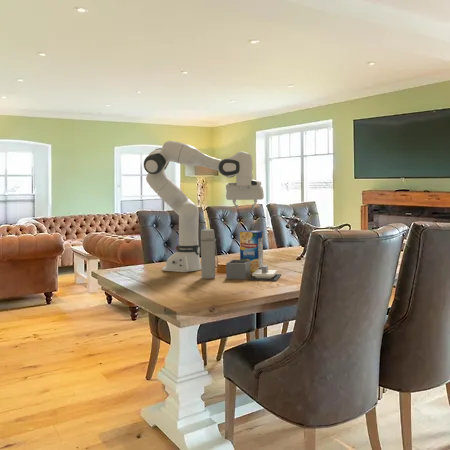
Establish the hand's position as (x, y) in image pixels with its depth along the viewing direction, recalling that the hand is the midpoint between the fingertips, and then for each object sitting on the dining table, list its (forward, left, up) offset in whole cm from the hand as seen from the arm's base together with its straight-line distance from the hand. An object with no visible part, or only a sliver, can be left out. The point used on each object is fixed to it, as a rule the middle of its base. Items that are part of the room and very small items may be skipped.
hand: (244, 208), depth 254 cm
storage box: (-1, -12, -35) cm, 37 cm away
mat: (+13, -12, -35) cm, 39 cm away
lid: (+13, -12, -34) cm, 39 cm away
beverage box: (+2, +6, -35) cm, 36 cm away
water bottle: (-15, -17, -35) cm, 42 cm away
